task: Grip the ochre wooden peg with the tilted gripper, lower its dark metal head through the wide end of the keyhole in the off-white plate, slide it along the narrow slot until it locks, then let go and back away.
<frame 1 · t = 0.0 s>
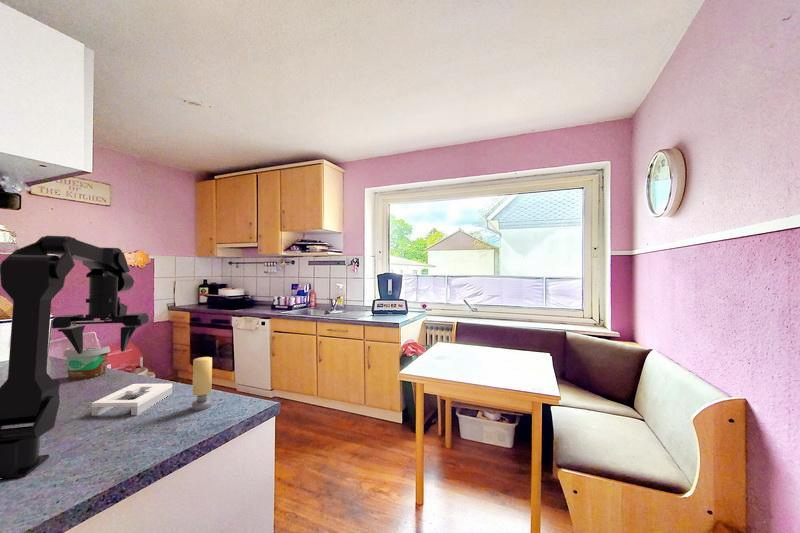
hand: (101, 352, 87), 15 cm above the counter, tool pointing down, fingers open, 9 cm apart
food container: (82, 379, 109), on the counter
keyhole plate: (135, 404, 89), on the counter
headed peg: (201, 407, 88), on the counter
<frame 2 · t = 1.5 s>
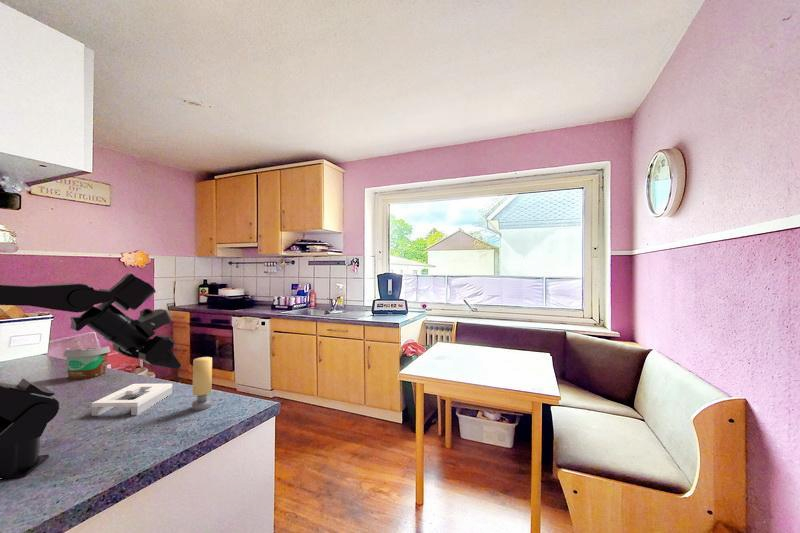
hand: (170, 364, 81), 13 cm above the counter, tool tilted 45°, fingers open, 9 cm apart
nothing on the counter moved.
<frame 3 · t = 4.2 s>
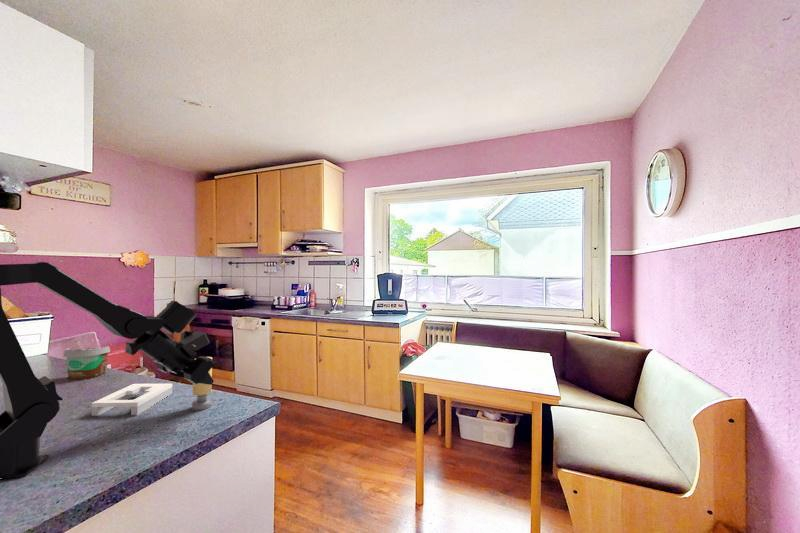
hand: (207, 381, 89), 7 cm above the counter, tool tilted 45°, fingers closed on headed peg, 4 cm apart
headed peg: (201, 407, 88), on the counter, touching gripper
everything else where it was.
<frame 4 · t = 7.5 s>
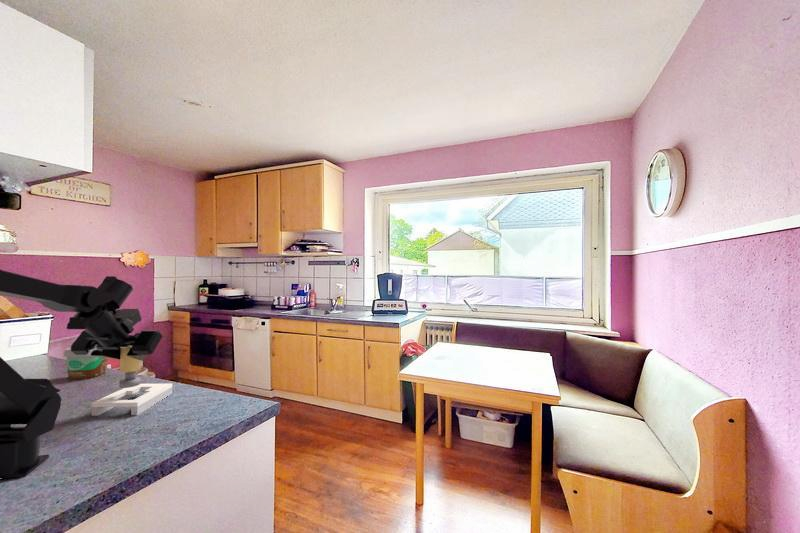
hand: (134, 359, 89), 13 cm above the counter, tool tilted 45°, fingers closed on headed peg, 4 cm apart
headed peg: (130, 385, 87), point 6 cm above the counter, touching gripper
everything else where it was.
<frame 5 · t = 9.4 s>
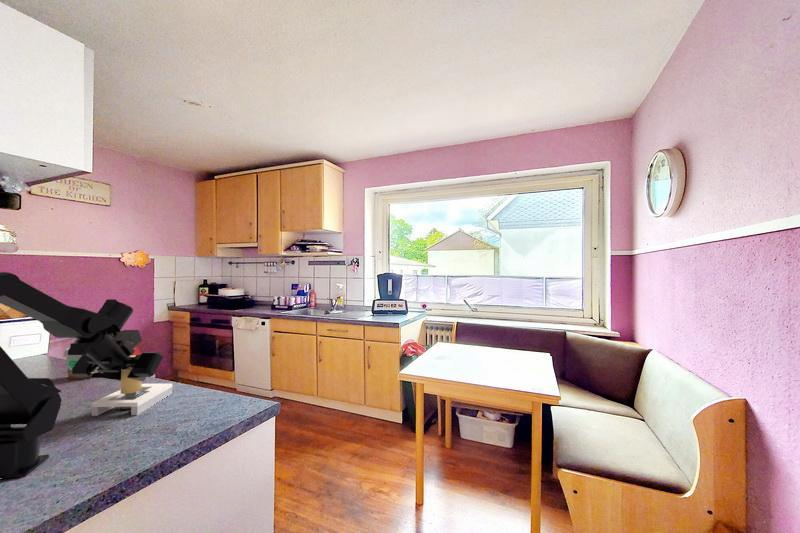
hand: (135, 379, 89), 7 cm above the counter, tool tilted 45°, fingers closed on headed peg, 4 cm apart
headed peg: (130, 405, 88), on the counter, touching gripper
everything else where it was.
when the fingers open (7 cm above the counter, at t = 11.0 s): headed peg stays where it is, on the counter.
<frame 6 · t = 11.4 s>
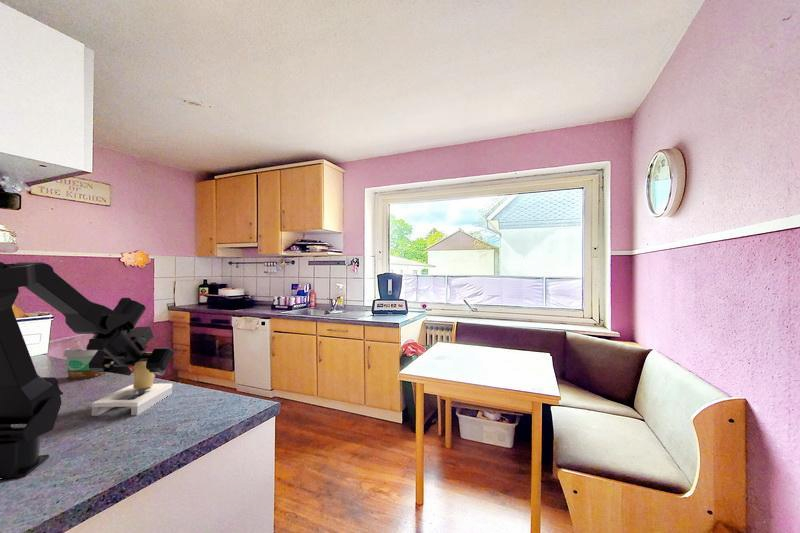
hand: (147, 374, 94), 7 cm above the counter, tool tilted 45°, fingers open, 9 cm apart
headed peg: (142, 399, 92), on the counter
everything else where it was.
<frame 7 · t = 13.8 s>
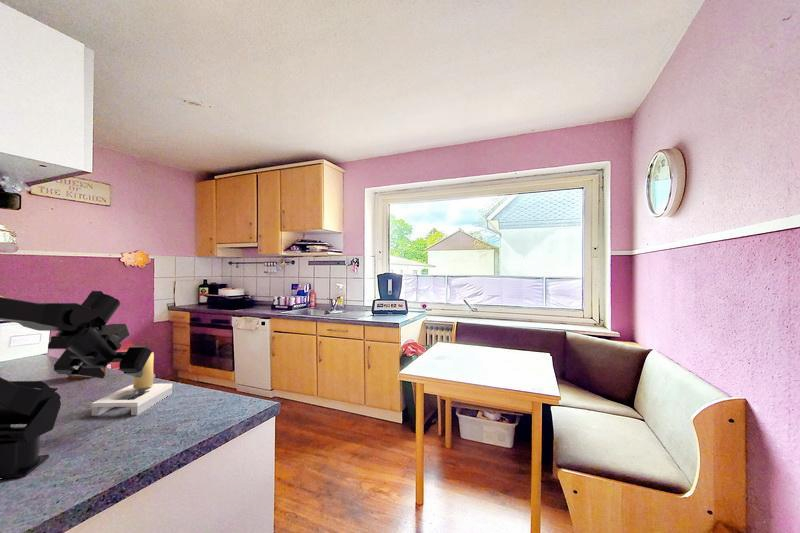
hand: (122, 376, 85), 9 cm above the counter, tool tilted 45°, fingers open, 9 cm apart
nothing on the counter moved.
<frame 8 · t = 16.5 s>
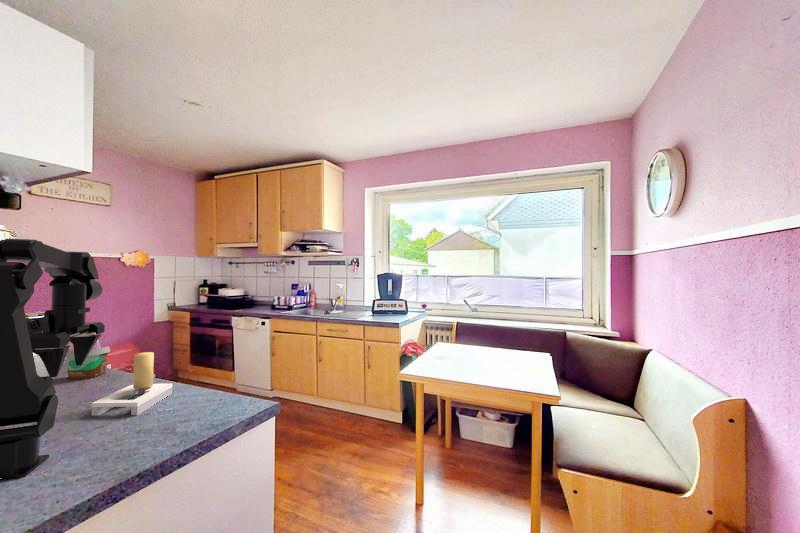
hand: (67, 370, 76), 13 cm above the counter, tool pointing down, fingers open, 9 cm apart
nothing on the counter moved.
at the end: headed peg 0.1 cm from the target spot, on the counter; headed peg tilted 0°; the gripper is holding nothing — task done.
